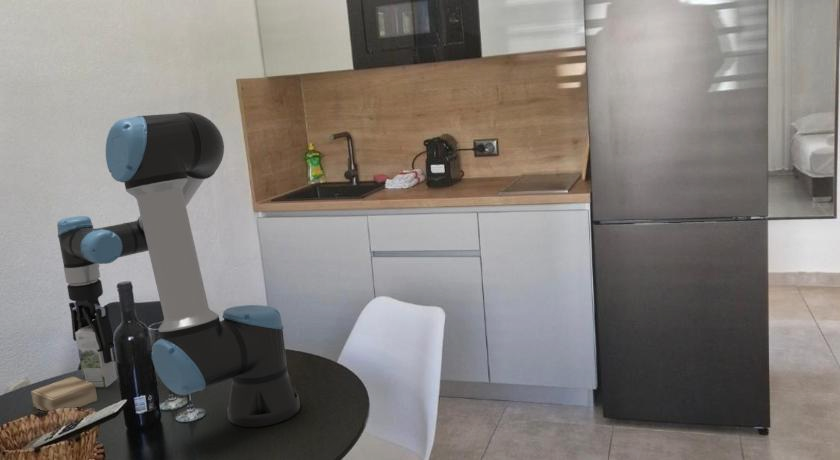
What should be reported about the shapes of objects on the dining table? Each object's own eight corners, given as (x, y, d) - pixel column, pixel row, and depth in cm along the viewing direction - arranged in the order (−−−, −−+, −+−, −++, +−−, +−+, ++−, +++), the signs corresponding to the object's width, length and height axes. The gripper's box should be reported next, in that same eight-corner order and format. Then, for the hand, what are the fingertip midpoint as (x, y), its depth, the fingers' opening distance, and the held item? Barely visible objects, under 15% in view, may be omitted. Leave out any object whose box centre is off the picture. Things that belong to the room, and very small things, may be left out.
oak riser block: (97, 400, 178) (94, 383, 177) (55, 416, 170) (52, 399, 170) (75, 392, 184) (72, 375, 183) (33, 407, 176) (30, 390, 176)
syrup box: (117, 378, 191) (108, 323, 188) (106, 388, 185) (96, 331, 182) (96, 379, 191) (86, 324, 188) (83, 389, 186) (73, 332, 183)
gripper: (121, 281, 180) (136, 373, 184) (76, 273, 192) (91, 359, 197) (91, 290, 174) (107, 384, 178) (47, 281, 187) (62, 369, 191)
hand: (98, 371), depth 187 cm, fingers closed on syrup box, 8 cm apart
